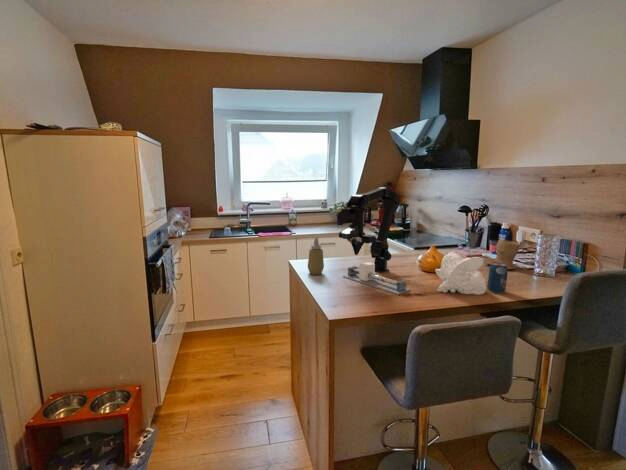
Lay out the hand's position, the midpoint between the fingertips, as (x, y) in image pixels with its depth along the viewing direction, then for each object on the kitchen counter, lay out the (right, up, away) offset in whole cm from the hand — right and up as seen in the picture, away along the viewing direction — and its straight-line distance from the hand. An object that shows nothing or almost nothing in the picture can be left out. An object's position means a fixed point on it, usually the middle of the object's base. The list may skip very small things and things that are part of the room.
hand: (356, 254), depth 165 cm
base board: (+8, -12, -7) cm, 16 cm away
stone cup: (+82, -8, +25) cm, 86 cm away
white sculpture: (+42, -15, -14) cm, 46 cm away
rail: (+8, -12, -7) cm, 16 cm away
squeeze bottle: (-19, -10, +7) cm, 22 cm away
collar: (+4, -12, -3) cm, 13 cm away
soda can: (+58, -15, -15) cm, 62 cm away
